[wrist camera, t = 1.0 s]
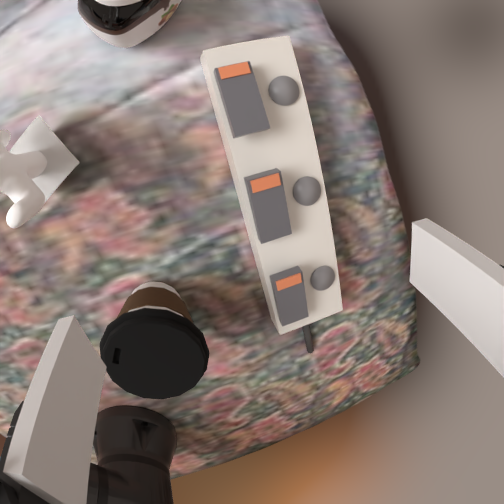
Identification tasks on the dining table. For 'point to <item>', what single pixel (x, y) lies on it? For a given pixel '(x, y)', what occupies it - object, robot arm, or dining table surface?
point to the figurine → (32, 169)
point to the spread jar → (126, 19)
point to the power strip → (293, 175)
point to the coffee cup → (154, 344)
